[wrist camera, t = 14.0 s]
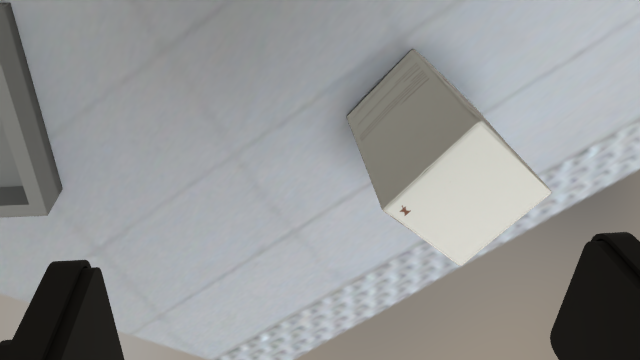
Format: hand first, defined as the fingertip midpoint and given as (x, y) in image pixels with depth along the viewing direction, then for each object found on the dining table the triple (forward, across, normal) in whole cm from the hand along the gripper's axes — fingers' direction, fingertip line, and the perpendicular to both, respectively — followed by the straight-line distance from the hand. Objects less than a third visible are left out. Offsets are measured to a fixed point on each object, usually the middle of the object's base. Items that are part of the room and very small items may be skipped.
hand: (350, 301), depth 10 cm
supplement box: (+28, -10, +9) cm, 32 cm away
